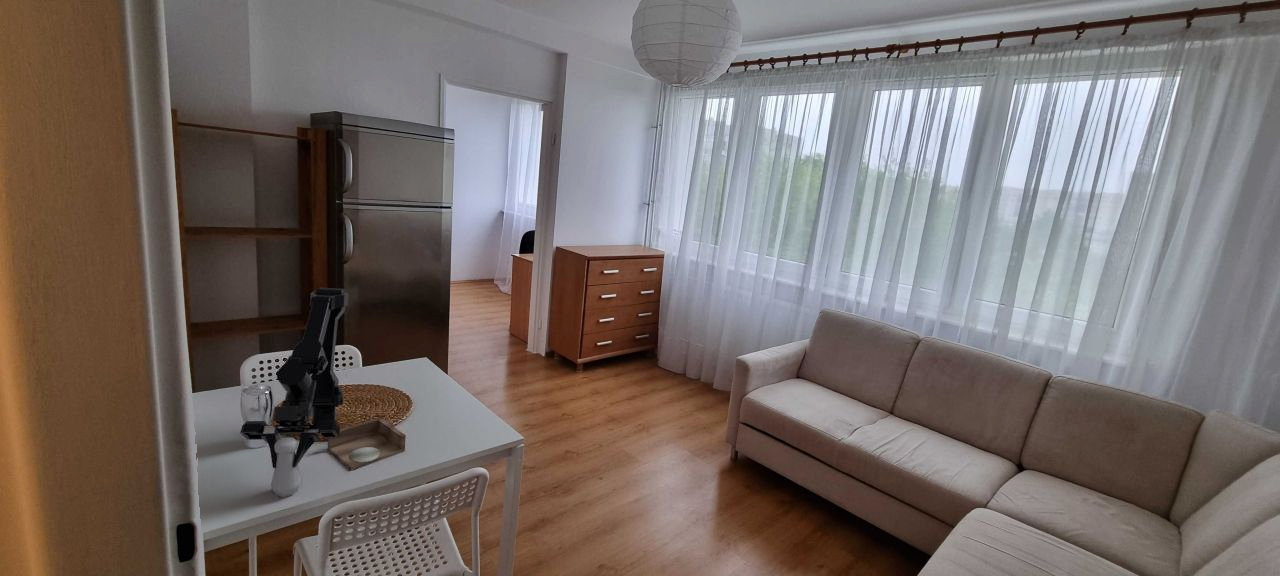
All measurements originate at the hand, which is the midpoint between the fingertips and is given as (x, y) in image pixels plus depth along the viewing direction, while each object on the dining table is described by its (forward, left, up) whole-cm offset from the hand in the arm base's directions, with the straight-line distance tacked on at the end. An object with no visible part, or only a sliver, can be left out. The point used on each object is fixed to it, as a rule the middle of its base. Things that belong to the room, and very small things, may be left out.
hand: (284, 467), depth 118 cm
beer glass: (-27, +4, -7) cm, 28 cm away
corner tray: (-7, +22, -7) cm, 24 cm away
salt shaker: (-1, +1, -7) cm, 7 cm away
